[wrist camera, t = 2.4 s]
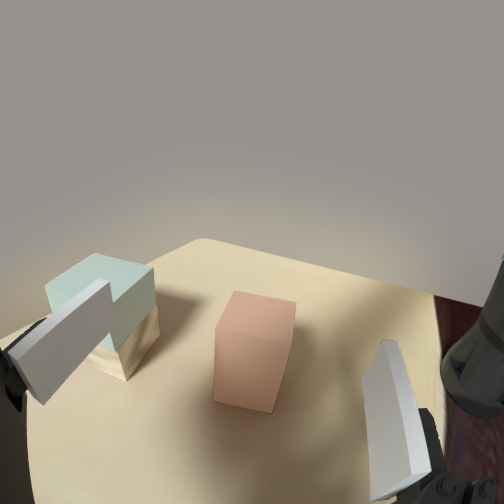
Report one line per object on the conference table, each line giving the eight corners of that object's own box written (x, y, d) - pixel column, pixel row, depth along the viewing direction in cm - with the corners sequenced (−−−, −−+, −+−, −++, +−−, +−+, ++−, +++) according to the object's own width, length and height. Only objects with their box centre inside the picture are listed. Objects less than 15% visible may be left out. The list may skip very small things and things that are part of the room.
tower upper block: (115, 351, 22) (104, 310, 21) (56, 323, 24) (44, 285, 22) (156, 304, 31) (153, 267, 29) (100, 287, 32) (94, 253, 30)
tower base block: (126, 382, 25) (117, 350, 23) (69, 354, 26) (57, 323, 24) (160, 335, 33) (157, 303, 31) (106, 316, 34) (100, 286, 32)
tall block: (271, 413, 24) (292, 343, 20) (213, 400, 25) (215, 328, 21) (278, 372, 29) (296, 302, 25) (228, 362, 30) (234, 290, 26)
